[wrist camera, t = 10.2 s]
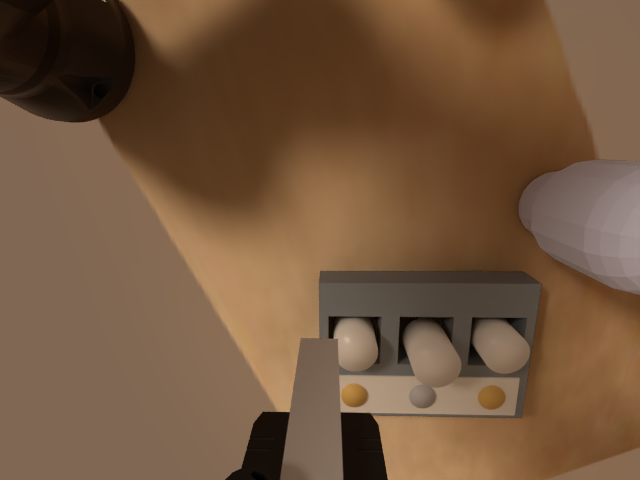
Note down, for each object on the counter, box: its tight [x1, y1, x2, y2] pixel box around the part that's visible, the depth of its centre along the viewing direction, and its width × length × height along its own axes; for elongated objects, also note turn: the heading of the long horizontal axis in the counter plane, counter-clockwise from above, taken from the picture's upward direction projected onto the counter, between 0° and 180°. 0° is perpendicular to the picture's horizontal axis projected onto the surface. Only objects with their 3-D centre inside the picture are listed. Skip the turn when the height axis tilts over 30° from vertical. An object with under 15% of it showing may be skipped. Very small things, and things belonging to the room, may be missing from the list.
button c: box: [470, 317, 530, 374], centre depth 42 cm, size 5×5×6 cm
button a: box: [334, 316, 378, 372], centre depth 42 cm, size 5×5×6 cm
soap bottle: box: [519, 159, 640, 295], centre depth 30 cm, size 10×10×24 cm
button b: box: [402, 318, 461, 388], centre depth 40 cm, size 5×5×6 cm
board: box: [319, 271, 542, 418], centre depth 44 cm, size 24×17×4 cm
